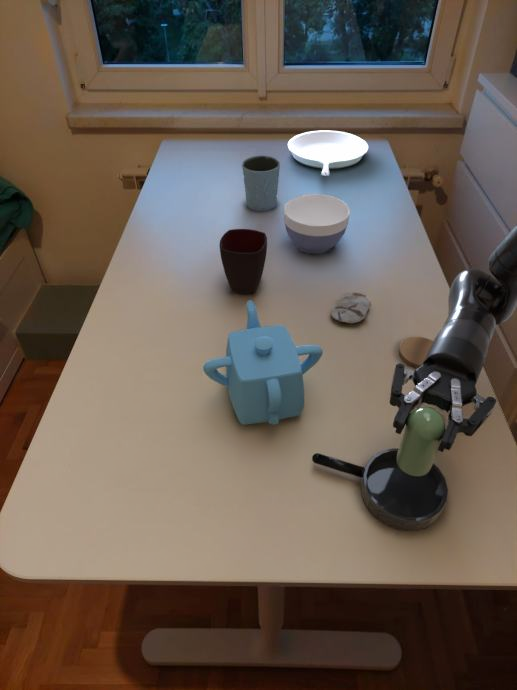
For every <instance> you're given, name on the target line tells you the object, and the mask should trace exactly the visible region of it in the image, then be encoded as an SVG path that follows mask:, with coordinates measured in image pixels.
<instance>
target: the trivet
mask: <svg viewBox="0 0 517 690" xmlns="http://www.w3.org/2000/svg"><path fill="white" fill-rule="evenodd" d="M433 342H434V340H431V339H429V338H426V337H423V336H411V337H408V338H405V339H404V340H402V342H401V343H400V345H399V349H398V354H399V357H400V358H401V360H402V361H403V362H404V363H405V364H406V365H408V366H410V367H412V368H414V369H417V368H419V367H420V366H422V364H423V362H424V360H425V358H426V356H427V354H428V352H429V350H430V348H431V346H432V344H433Z"/></svg>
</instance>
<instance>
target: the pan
mask: <svg viewBox="0 0 517 690" xmlns="http://www.w3.org/2000/svg"><path fill="white" fill-rule="evenodd" d="M287 148H288V150H289V152H291V155H292V157H293V158H294V159H295V160H296V161H297V162H298V163H300V164H302V165H305V166H308V167H312V168H315V169H321V170H322V171H321V176H323V177H328V176H330V173H331V172H330V170H338V169H344V168H348V167H351V166H354V165H356V164H357V163H358V162H360V161H361V160H362V159H363V156H365V154H367V153H368V151H369V145H368V143H367V142H366V140H365V139H363V138H361V137H359V136H357V135H355V134H353V133H350V132H349V133H348V132H345V131H338V130H326V129H325V130H323V129H322V130H321V129H320V130H311V131H306V132H302V133H299V134H296V135H294V136H293V137H292V138H290V139H289V141H288V142H287Z"/></svg>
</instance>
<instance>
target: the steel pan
mask: <svg viewBox="0 0 517 690" xmlns="http://www.w3.org/2000/svg"><path fill="white" fill-rule="evenodd" d="M398 449H399V447H396V448H395V447H392V448H388V449H383V450H381V451H379V452H377V453H376V454H374V455H372V456H371V457H370V459H369V460H368V461H367V463H366V464H365V466H364V468H365V471H364V474H363V478H362V479H361V483H360V485H361V486H360V491H361V497H362V500H363V502H364V504H365V506H366V508H367V510H369V512H370V513H371V514H372V515H373V516H374V517H375V518H376V519H377V520H378V521H380V522H381V523H383V525H386V526H388V527H391V528H392V529H395V530H399V531H405V532H414V531H421V530H424V529H426V528H428V527H430V526H431V525H433V524H434V523H435V522H436V521H437V520H438V518H439V517H440V515H441V514H442V512H443V510H444V507H445V506H446V504H447V501H448V493H449V489H448V485H447V481H446V478H445V476H444V474H443V473H442V471H441V469H440V468H439V467H438V465H436V464H435V463H434V462H433V465H432V467H431V470H430V471H429V472H428V473H427V474H425V475H423V476H412V475H409V474H407V473H405V472H404V471H402V470H401V469H400V467H399V466H398V464H397V461H396V456H397V453H398Z"/></svg>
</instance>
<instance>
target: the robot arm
mask: <svg viewBox="0 0 517 690" xmlns="http://www.w3.org/2000/svg"><path fill="white" fill-rule="evenodd" d="M487 267H488V270H489V272H490V273H491V274H490V273H488V272H487V271H485V270H483V269H481V268H478V267H468V268H466V269H464V270H462V271H461V272H459V273H457V275H456V277H454V279H453V281H452V283H451V285H450V288H449V293H448V300H447V301H448V302H447V303H448V312H447V313H448V314H447V315H448V316H447V318H446V320H445V322H444V323H443V326H442V328H441V329H440V331H439V332H438V333H437V335H436V336H435V338H434V340H433V344H432V346H431V348H430V350H429V352H428V354H427V356H426V358H425V360H424V362H423V364H422V366H420V367H419V368H415V369H414V370H412V369H408V368H405V367H406V366H405V365H404V364H403V363H401V362H400V363H399V362H398V363H396V364H395V367H394V371H393V375H392V381H391V390H390V395H389V404H390V405H391V406H392V407H397V408H398V410H397V412H396V414H395V415H394V419H393V422H392V428H394V429H395V433H396V434H398V435H401V436H402V434H403V432H404V428H405V425H406V422H407V419H408V416H409V415H410V413H411V412H412V411H413V410H415V409H417V408H420V407H422V406H423V405H424V404H427V405H430V406H434V407H436V408H438V409H440V410H442V411H444V412H445V421H447V422H446V423H447V425H446V430H445V432H444V435H443V437H442V440H441V442H440V445H439V448H438V452H440V453H444V451H450V450H451V449H452V447H453V445H454V443H455V440H456V437H457V435H458V434H459V433H462V434H464V435H465V436H466V437H473V436H474V435H475V433H476V432H477V431H478V430H479V429H480V427H481V426H482V425H483V424H485V421H487V419H488V418H489V417H490V416H491V414H492V412H493V410H494V409H495V405H496V404H497V399H496V398H495V397H493V396H487V397H486V398H485V397H484V396H482V395H480V394H478V391H477V388H476V385H477V382H478V380H479V377H480V375H481V372H482V370H483V368H484V366H485V362H486V359H487V356H488V352H489V346H490V343H491V341H492V338H493V335H494V333H495V331H496V326H498V325H501V324H503V323H505V322H507V321H508V320H509V318H511V317H512V315H513V314H514V312H515V310H516V308H517V223H516V224H515V225H514V227H513V228H512V229H511V230H510V231H509V233H507V235H505V237H504V238H503V239H502V240H501V242H500V243H499V244H498V245H497V246H496V248H495V249H494V250H493V251H492V252H491V254H490V255H489V257H488V259H487ZM411 380H412V382H413V384H414V388H413V389H412V390H411V391H410V392H409V393H407V394H404V393H403V386H404V385H405V384H407V383H408V382H409V381H411ZM471 403H473V405H474V406H473V410H474V412H473V413H472V414H471V415H470V417H468V418H464V417H463V406H467V405H469V404H471Z"/></svg>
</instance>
